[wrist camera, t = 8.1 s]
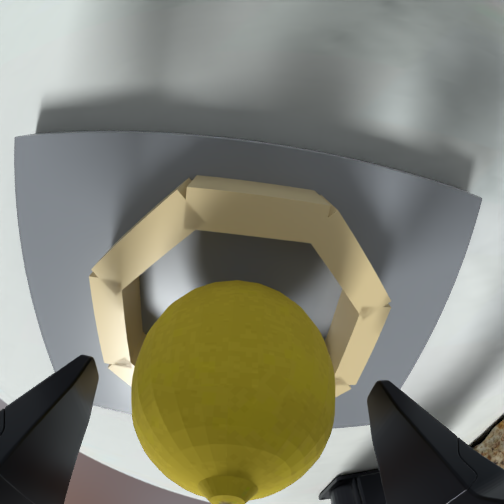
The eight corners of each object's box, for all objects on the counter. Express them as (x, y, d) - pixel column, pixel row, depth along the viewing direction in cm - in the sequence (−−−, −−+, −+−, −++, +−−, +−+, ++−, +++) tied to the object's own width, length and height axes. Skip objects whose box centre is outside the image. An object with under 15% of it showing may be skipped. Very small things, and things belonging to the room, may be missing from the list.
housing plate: (370, 407, 18) (385, 447, 14) (73, 380, 16) (54, 419, 13) (463, 190, 12) (511, 211, 8) (34, 133, 10) (-17, 143, 7)
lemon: (143, 298, 12) (41, 450, 4) (258, 220, 11) (278, 355, 3) (224, 388, 13) (209, 548, 5) (331, 330, 12) (401, 495, 4)
